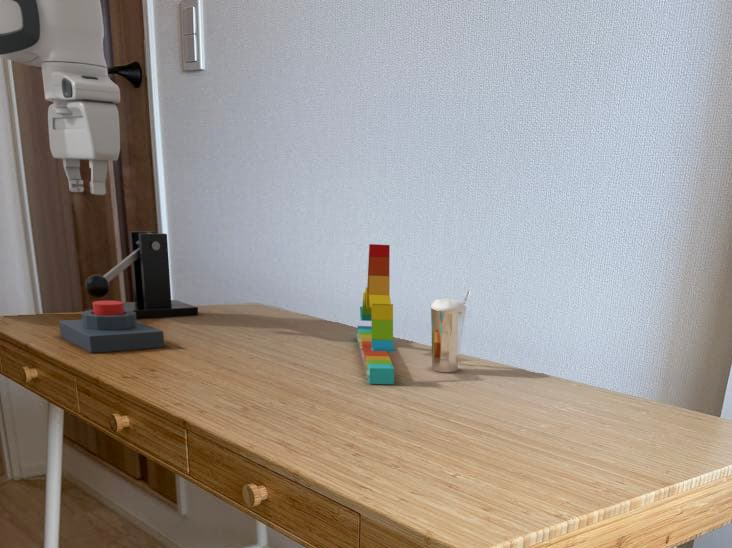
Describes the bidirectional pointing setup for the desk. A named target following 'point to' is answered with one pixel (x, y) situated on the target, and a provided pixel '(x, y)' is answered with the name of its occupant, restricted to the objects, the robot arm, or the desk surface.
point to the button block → (111, 332)
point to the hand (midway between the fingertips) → (87, 193)
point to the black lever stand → (153, 279)
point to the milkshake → (447, 333)
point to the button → (108, 308)
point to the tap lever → (109, 275)
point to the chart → (377, 319)
